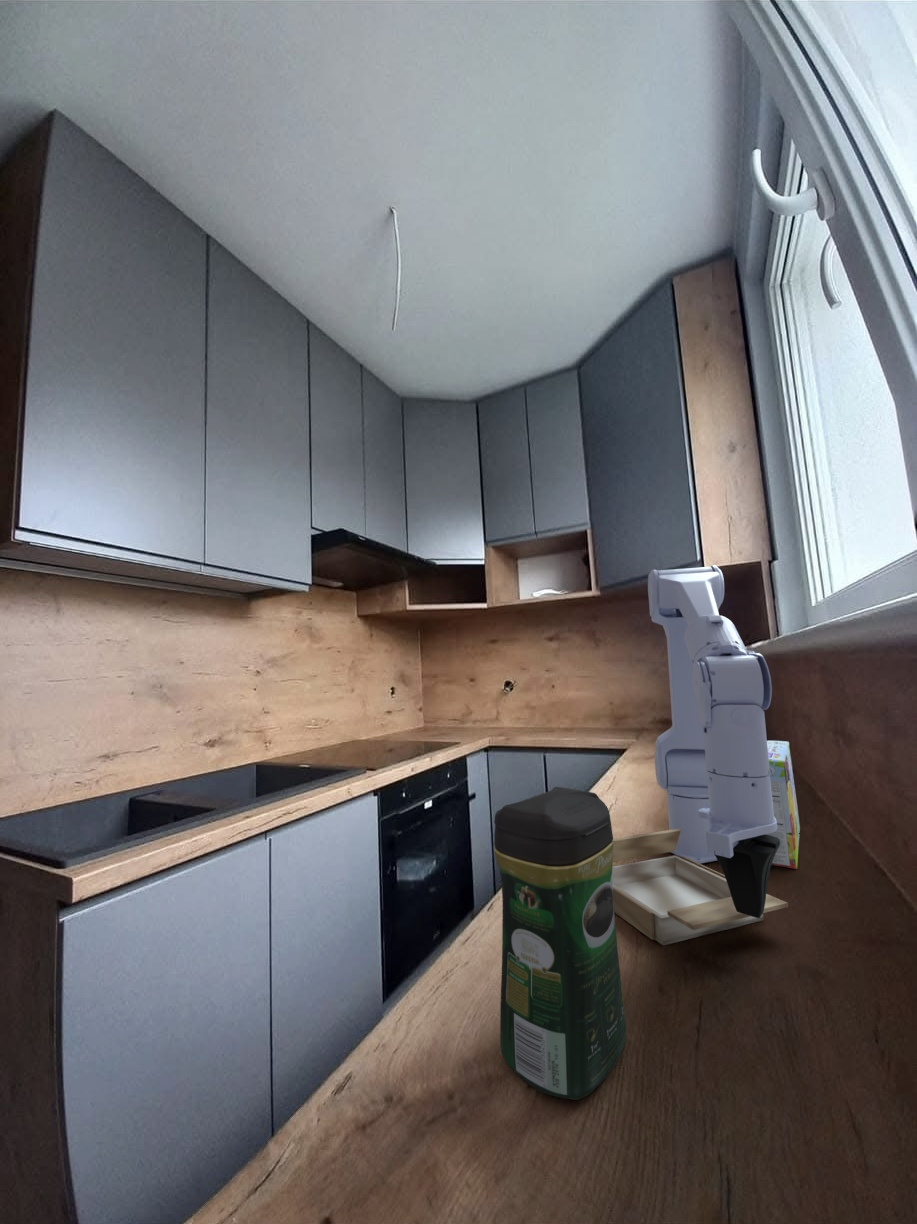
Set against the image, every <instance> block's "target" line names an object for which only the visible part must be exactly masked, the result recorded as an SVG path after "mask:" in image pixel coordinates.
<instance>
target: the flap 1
mask: <svg viewBox="0 0 917 1224" xmlns="http://www.w3.org/2000/svg"><path fill="white" fill-rule="evenodd" d="M680 832H681V830H680V829H679V828H678V829H672V830H669V829H666V830H660V831H654V832H648V833H647V832H646V833H640V834H635V835H627V836H621V837H615V838H614V837H613V863H614V862H619V861H626V860H630V859H636V858H641V857H648V856H655V855H659V854H660V855H661V854H666V853H671V852H672V851H675V848H676V845H677V842H678V839H679V835H680Z"/></svg>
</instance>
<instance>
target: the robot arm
mask: <svg viewBox="0 0 917 1224" xmlns="http://www.w3.org/2000/svg"><path fill="white" fill-rule="evenodd" d="M647 577H648V578H647V592H648V593H647V595H648V606H649V617H651V622H652V623H655V624H657V625H660V626H662V627H663V630H664V632H665V633H664V634H665V636H666V647H667V658H668V660H667V661H668V663H667V664H668V676H669V677H668V678H669V691H670V692H669V694H670V707H671V708H670V709H671V722H672V723H671V724H672V725H671V727H670V728H669V729H667V730H666V731H664V732H663V733H661V734H660V735H659V736H657V738H656V739H655V740H656V741H655V742H654V745H655V746H654V747H655V751H654V769H655V777H656V782H657V785H658V786H659V787H660V789H662V790H665V791H666V798H667V802H666V803H667V812H668V813H667V815H668V828H669V829H668V830H672V829H678V828H679V829H680V830H681V832H680V835H679V839H678V842H677V845H676V848H675V851H672V852H670V853H671V854H672V855H674V856H677V857H680V858H682V856H684V857H686V858H688V859H690V860H693V861H695V862H697V863H699V864H701V865H702V864H705V863H711V862H715V861H717V862H718V863H719V866H720V868H721V871H722V872H723V873H722V874H723V875H725V878H726V881H727V884H728V887H729V890H730V893H731V897H732V900H733V903H734V906H735V908H736V911H737V912H739V913H742V914H746V915H749V916H752V917H756V918H760V917H761V915H762V914H763V915H764V913H763V911H764V907H765V900H766V894H767V892H768V891H767V890H768V883H769V877H770V871H771V867H772V866H773V865H772V861H773V859H774V856H775V854H776V852H777V850H778V848H779V846H780V840H779V838H777V837H774V836H770V835H765V834H769V833H772V832H775V831H776V830H777V820H776V818H775V817H774V811H773V800H772V790H771V780H770V768H769V758H768V747H767V741H768V740H767V729H766V727H767V726H766V717H765V716H766V715H765V711H766V710H768V709H769V707H770V705H771V701H772V695H773V694H772V691H773V687H772V678H771V674H770V669H769V667H768V664H767V663H768V662H767V661H766V659H765V657H764V656H763V655H762V654H761V653H759V652H758V653H757V652H755V650H747V648H746V646H745V644H744V642H743V640H742V638H741V636H740V634H739V632H738V630H737V627H736V626H735V624H734V623H733V622H732V620H730V619H729V618H727V617H726V616H723V615H720V613H719V609H720V607H721V605H722V604H723V601H724V599H725V580H724V575H723V572H722V570H721V568H720V567H718V566H717V565H710V566H702V567H690V568H689V567H688V568H675V569H674V568H673V569H660V570H657V569H652V570H651V571H650V572H649V574H648V575H647Z"/></svg>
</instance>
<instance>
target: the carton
mask: <svg viewBox="0 0 917 1224" xmlns="http://www.w3.org/2000/svg"><path fill="white" fill-rule="evenodd" d="M612 886H613V903H614V914H616V915H617V916H619V917H620V918H622V919H623V920H624V921H626V922H627V923H628V924H630V925H631V926H633V927H634V928H635V929H637V930H638V931H639V932H641V933H642V934H643V935H645V936H646V937H647V938H649V939H650V940H652V941H653V940H654V941H657V942H658V943H659V944H661V945H662V946H667V945H671V944H675V943H679V942H683V941H686V940H690V939H695V938H699V937H702V936H708V935H709V934H715V933H718V932H722V931H725V930H726V931H727V930H731V929H734V928H738V927H743V926H746V925H751V924H754V923H758V922H762V921H764V913H763V914H762V915H761V917H760V918H756V917H752V916H749V917H745V918H741V919H737V920H733V921H729V922H725V923H721V924H717V925H713V926H709V927H705V928H701V929H697V930H692V929H690V928H689V927H687V926H685V925H684V924H682V923H680V922H678V921H677V920H675V919H673V918H672V917H670V916H668V913H667V911H670V910H674V909H679V908H683V907H688V906H692V905H697V904H701V903H705V902H710V901H714V900H719V899H723V898H728V897H731V893H730V890H729V887H728V884H727V881H726V878H725V875H724V873H722V872H718V871H716V870H714V869H712V868H710V867H708V866H705V865H703V864H702V863H701V864H699V863H697V862H695V861H693V860H690V859H688V858H686V857H684V856H682V857H679V856H677V855H669V856H664V857H659V858H653V859H649V860H643V861H638V862H637V861H636V862H631V863H625V864H620V865H615V866H612Z"/></svg>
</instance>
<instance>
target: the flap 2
mask: <svg viewBox="0 0 917 1224" xmlns="http://www.w3.org/2000/svg"><path fill="white" fill-rule="evenodd" d="M785 908H786V909H787V908H789V902H787V901H785V900H782V899H780V898H777V897H775V896H773V895H770V894H768V893H766V900H765V907H764V911H763V914H765V913H769V912H773V911H777V910H778V911H779V910H783V909H785ZM667 913H668V916H670V917H672V918H673V919H675V920H677V921H678V922H680V923H682V924H684V925H685V926H687V927H689V928H690V929H692V930H697V929H701V928H705V927H709V926H713V925H717V924H721V923H725V922H729V921H733V920H737V919H741V918H745V917H749V915H746V914H742V913H739V912H737V911H736V908H735V906H734V903H733V900H732V897H728V898H723V899H719V900H714V901H710V902H705V903H701V904H697V905H692V906H688V907H683V908H679V909H674V910H670V911H667Z"/></svg>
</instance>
